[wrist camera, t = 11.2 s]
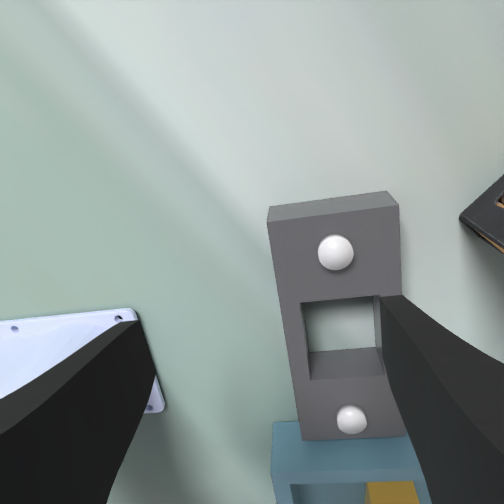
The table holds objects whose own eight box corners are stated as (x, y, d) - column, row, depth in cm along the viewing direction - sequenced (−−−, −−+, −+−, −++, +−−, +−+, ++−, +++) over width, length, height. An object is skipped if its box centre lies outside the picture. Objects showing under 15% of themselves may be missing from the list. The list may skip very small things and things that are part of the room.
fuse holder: (301, 409, 26) (302, 449, 23) (269, 206, 21) (265, 226, 18) (395, 403, 25) (408, 444, 22) (386, 190, 20) (402, 208, 17)
